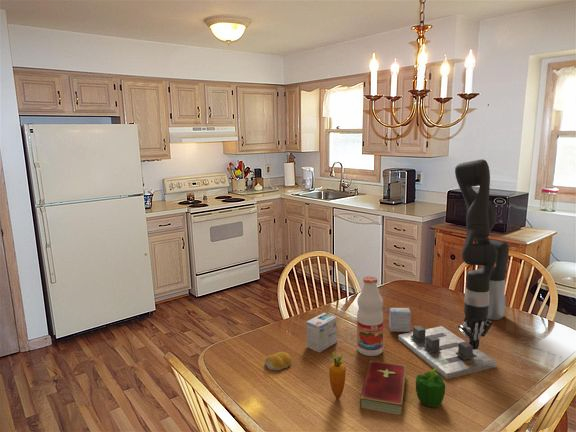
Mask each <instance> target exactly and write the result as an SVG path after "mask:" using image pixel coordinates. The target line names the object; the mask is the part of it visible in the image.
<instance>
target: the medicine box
mask: <svg viewBox="0 0 576 432" xmlns="http://www.w3.org/2000/svg"><path fill="white" fill-rule="evenodd" d="M388 312H389V314H388V315H389V316H388V319H389V320H388V324H389V325H388V327H389V331H390V332H391V333H392V332H393V333H401V332H402V333H404V332H405V333H410V332H411V319H412V315H411V314H412V312H411V310H410V308H409V307H389V311H388Z"/></svg>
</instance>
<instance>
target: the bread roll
mask: <svg viewBox="0 0 576 432" xmlns="http://www.w3.org/2000/svg"><path fill="white" fill-rule="evenodd" d="M291 365H292V357H291V355H290V354H289V353H287V352H284V351H278V352H275V353H273V354H269V355H267V357H266V358H265V366H266V367H267V368H268V369H269V370H270V371H281V370H284V369H287V368H289V367H290V366H291Z"/></svg>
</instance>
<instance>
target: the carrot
mask: <svg viewBox="0 0 576 432" xmlns="http://www.w3.org/2000/svg"><path fill="white" fill-rule="evenodd" d="M331 355H332V357H333V363H331V364H330V366H329V368H328V370H329V371H328V372H329V373H328V374H329V376H328V377H329V383H330V388H331V391H332V394H333V396H334V397H335V398H336V400H339V399H340V398H341V396H342V395H343V393H344V389H345V383H346V372H347V371H346V366H345V365H344V364H343V363H344V362H343V361H342V359H343V354H342V353H341V354H339V355H338V356H337V357H336V353H335V352H332V353H331Z"/></svg>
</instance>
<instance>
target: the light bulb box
mask: <svg viewBox="0 0 576 432" xmlns="http://www.w3.org/2000/svg"><path fill="white" fill-rule="evenodd" d="M305 323H306V347H307V348H308V349H311V350H312V351H315V352H316V353H321V352H323V351H325V350H326V349H328V348H330V347H331V346H333V345H335V344H336V343H337V342H338V333H337V332H338V325H337V316H335V315H332V314H329V313H327V312H322V313H321V314H318V315H316V316H315V317H312V318H311V319H310V318H309V319H308V320H306V321H305Z"/></svg>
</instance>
